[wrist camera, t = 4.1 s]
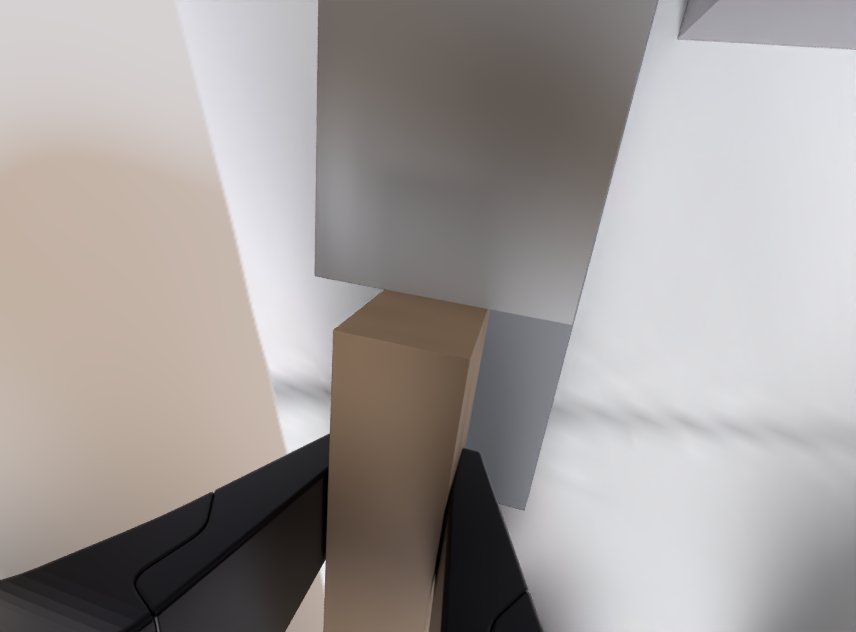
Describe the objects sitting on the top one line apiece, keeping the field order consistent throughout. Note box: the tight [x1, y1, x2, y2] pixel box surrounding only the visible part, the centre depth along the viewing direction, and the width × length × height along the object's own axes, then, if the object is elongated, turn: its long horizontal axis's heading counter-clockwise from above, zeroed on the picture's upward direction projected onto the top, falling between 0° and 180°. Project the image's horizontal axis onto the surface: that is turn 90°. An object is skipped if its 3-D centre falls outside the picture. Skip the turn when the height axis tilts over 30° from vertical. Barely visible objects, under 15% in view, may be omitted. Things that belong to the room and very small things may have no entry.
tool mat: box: [465, 0, 658, 510], centre depth 17 cm, size 22×8×1 cm, turn 173°
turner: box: [315, 0, 657, 632], centre depth 7 cm, size 14×5×3 cm, turn 173°
